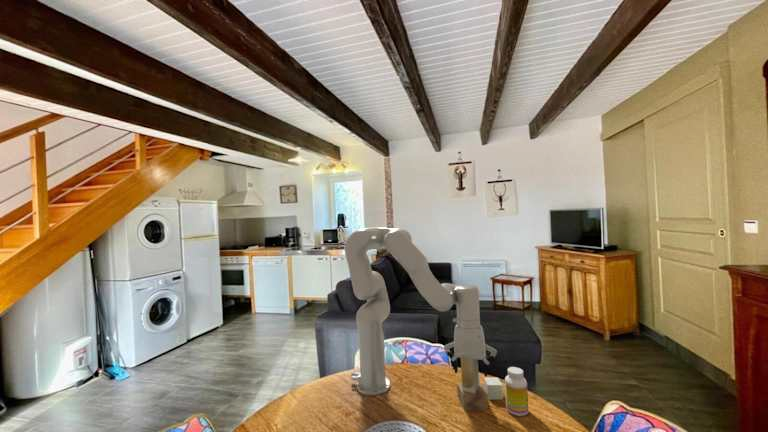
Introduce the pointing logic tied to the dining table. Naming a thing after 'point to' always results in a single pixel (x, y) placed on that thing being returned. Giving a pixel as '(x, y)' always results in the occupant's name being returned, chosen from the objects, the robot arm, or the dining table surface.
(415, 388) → the dining table surface
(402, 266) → the robot arm
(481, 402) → the walnut block
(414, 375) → the dining table surface
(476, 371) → the skincare box
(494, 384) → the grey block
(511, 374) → the supplement bottle
